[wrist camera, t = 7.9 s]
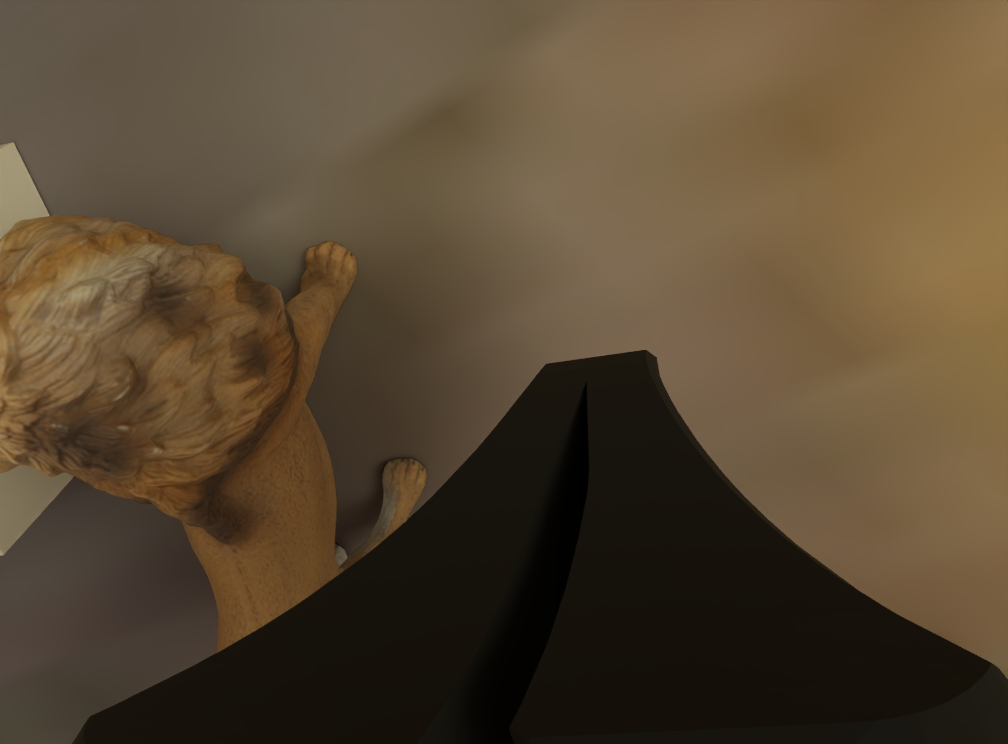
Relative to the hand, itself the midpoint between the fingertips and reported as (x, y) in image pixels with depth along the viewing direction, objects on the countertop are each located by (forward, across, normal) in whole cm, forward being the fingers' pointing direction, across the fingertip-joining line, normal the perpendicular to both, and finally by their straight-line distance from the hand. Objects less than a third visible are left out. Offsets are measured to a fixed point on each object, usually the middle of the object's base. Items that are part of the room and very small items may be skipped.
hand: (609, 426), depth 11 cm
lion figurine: (+10, +9, +4) cm, 14 cm away
